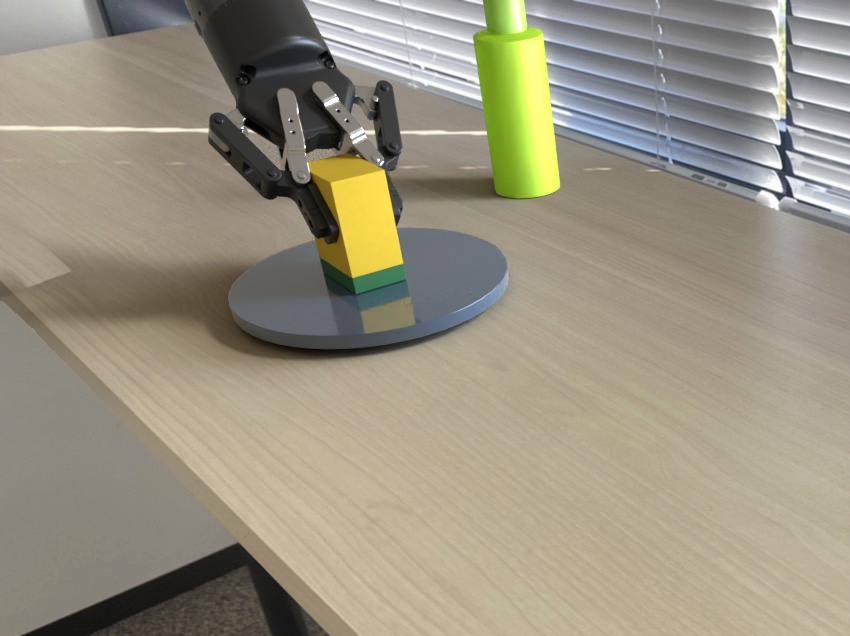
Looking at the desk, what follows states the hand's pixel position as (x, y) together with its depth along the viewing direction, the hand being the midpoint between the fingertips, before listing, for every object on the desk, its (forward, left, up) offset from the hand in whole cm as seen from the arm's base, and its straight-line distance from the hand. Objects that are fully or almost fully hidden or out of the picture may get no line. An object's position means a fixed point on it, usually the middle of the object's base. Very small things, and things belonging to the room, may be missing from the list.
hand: (364, 229), depth 82 cm
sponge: (0, +2, -4) cm, 4 cm away
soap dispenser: (+25, +7, -6) cm, 26 cm away
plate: (+1, +1, -6) cm, 6 cm away
